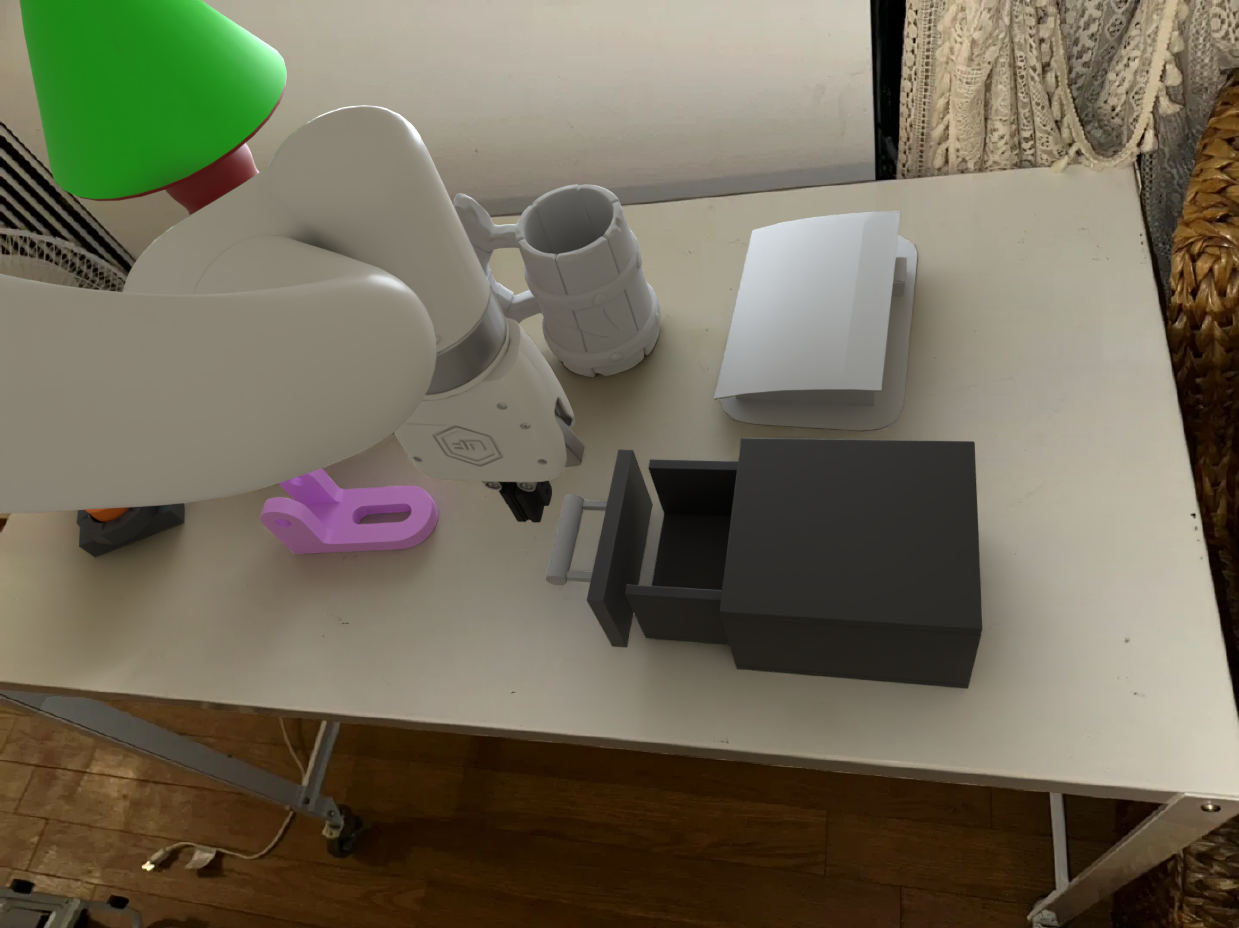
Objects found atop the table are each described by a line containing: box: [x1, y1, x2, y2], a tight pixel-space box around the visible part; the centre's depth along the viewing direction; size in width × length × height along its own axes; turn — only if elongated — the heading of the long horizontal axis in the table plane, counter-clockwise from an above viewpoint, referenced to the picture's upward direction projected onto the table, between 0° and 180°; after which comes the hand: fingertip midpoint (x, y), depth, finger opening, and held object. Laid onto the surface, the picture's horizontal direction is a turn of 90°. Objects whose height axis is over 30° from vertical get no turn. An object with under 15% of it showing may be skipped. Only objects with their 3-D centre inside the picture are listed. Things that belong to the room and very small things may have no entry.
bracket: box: [259, 468, 439, 555], centre depth 78 cm, size 13×6×7 cm, turn 86°
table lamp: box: [19, 0, 288, 216], centre depth 76 cm, size 20×20×45 cm
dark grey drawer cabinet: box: [720, 437, 984, 690], centre depth 63 cm, size 16×14×10 cm
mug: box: [452, 183, 662, 378], centre depth 81 cm, size 11×17×17 cm, turn 82°
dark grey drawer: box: [545, 449, 738, 648], centre depth 67 cm, size 19×12×8 cm, turn 80°
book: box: [713, 210, 918, 432], centre depth 81 cm, size 15×23×4 cm, turn 167°
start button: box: [85, 507, 130, 522], centre depth 83 cm, size 4×4×2 cm
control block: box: [76, 503, 185, 558], centre depth 87 cm, size 15×9×4 cm, turn 18°
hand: (534, 504), depth 65 cm, fingers closed
